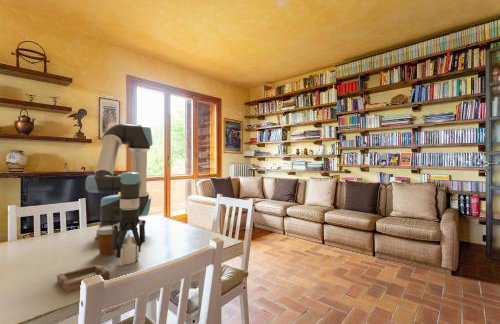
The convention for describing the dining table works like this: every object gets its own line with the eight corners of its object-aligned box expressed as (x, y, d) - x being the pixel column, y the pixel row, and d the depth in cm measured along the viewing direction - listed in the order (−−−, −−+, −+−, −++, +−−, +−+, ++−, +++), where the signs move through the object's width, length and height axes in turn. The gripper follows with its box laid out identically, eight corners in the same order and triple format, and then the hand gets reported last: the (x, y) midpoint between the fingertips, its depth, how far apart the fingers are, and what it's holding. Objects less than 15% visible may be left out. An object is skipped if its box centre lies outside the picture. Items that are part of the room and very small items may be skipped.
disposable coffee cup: (94, 258, 111) (95, 231, 111) (96, 251, 120) (97, 226, 120) (118, 255, 116) (119, 229, 116) (119, 248, 124) (119, 224, 124)
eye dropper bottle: (123, 260, 109) (124, 233, 109) (136, 260, 110) (137, 233, 110) (119, 264, 105) (119, 236, 105) (132, 264, 105) (133, 236, 105)
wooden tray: (57, 282, 89) (57, 275, 89) (97, 270, 99) (97, 264, 99) (67, 292, 82) (67, 285, 82) (109, 278, 92) (109, 272, 92)
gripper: (109, 212, 98) (108, 272, 97) (154, 206, 113) (153, 258, 112) (101, 210, 102) (100, 266, 102) (146, 204, 117) (144, 254, 117)
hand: (128, 262), depth 107 cm, fingers open, 6 cm apart
